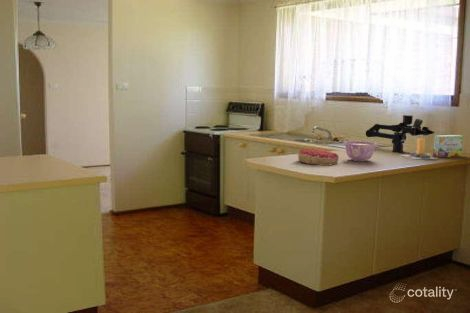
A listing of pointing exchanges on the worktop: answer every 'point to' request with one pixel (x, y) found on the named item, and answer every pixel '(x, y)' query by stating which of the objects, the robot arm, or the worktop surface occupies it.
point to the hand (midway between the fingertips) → (430, 132)
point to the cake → (317, 157)
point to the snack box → (447, 145)
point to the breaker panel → (419, 156)
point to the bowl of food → (360, 150)
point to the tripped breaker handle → (420, 146)
